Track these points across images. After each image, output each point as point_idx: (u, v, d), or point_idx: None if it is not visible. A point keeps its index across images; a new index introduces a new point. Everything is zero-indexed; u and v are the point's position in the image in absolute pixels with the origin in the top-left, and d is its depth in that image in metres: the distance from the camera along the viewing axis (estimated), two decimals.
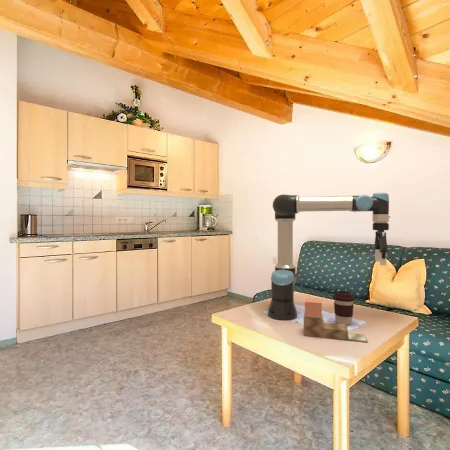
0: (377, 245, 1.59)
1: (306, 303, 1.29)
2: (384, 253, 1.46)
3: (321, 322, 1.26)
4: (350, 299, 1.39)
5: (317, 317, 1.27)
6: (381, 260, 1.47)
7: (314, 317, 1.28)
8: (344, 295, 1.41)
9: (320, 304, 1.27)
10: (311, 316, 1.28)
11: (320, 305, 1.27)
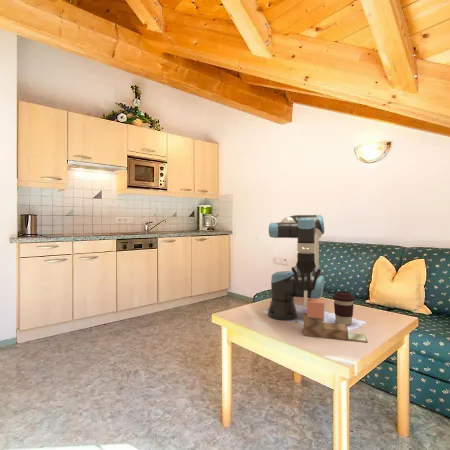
0: None
1: (308, 303, 1.28)
2: (301, 291, 1.32)
3: (321, 322, 1.26)
4: (350, 299, 1.39)
5: (319, 317, 1.27)
6: None
7: (316, 317, 1.27)
8: (344, 295, 1.41)
9: (322, 304, 1.26)
10: (313, 316, 1.28)
11: (322, 306, 1.27)
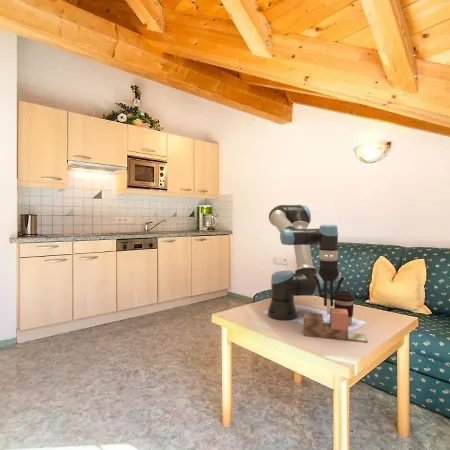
0: None
1: (346, 315, 1.24)
2: None
3: (321, 322, 1.26)
4: (350, 299, 1.39)
5: (331, 324, 1.26)
6: None
7: (331, 322, 1.26)
8: (344, 295, 1.41)
9: (346, 329, 1.24)
10: (332, 319, 1.25)
11: (345, 328, 1.24)
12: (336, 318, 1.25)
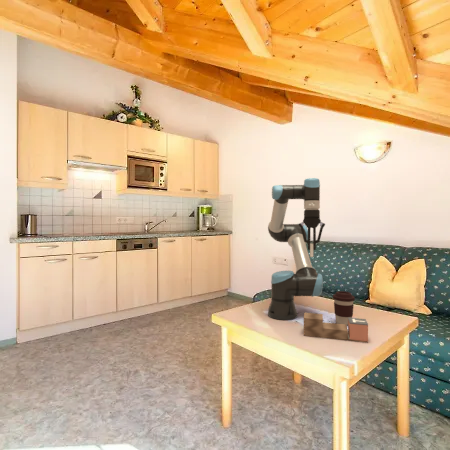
0: (313, 236, 1.48)
1: (366, 339, 1.21)
2: None
3: (321, 322, 1.26)
4: (350, 299, 1.39)
5: (354, 324, 1.23)
6: None
7: (357, 324, 1.22)
8: (344, 295, 1.41)
9: (350, 338, 1.23)
10: (360, 325, 1.22)
11: (351, 336, 1.23)
12: (361, 329, 1.22)
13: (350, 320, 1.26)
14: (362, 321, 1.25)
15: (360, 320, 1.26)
